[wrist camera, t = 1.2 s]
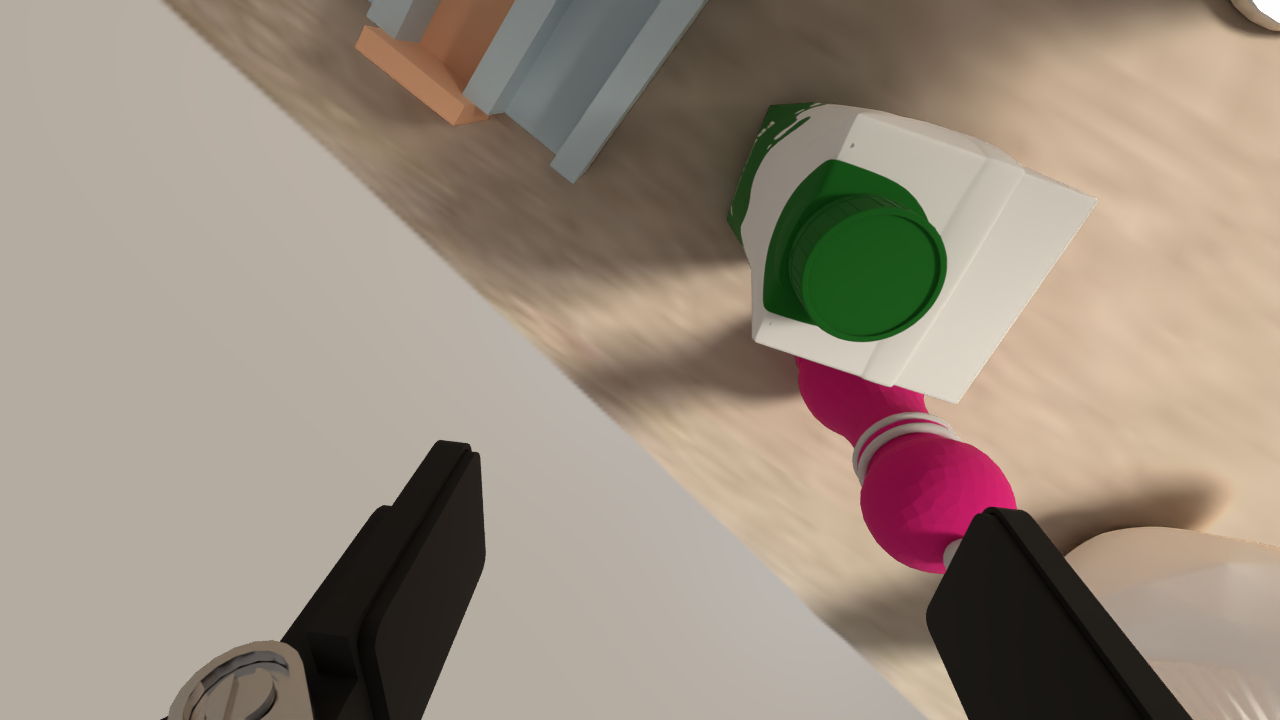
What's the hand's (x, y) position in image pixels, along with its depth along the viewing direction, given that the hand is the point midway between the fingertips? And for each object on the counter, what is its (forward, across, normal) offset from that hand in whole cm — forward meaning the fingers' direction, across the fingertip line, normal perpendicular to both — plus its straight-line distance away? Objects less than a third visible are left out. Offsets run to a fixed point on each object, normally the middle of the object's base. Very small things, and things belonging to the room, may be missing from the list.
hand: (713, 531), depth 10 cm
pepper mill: (+27, -11, +8) cm, 31 cm away
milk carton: (+27, -6, -3) cm, 28 cm away
